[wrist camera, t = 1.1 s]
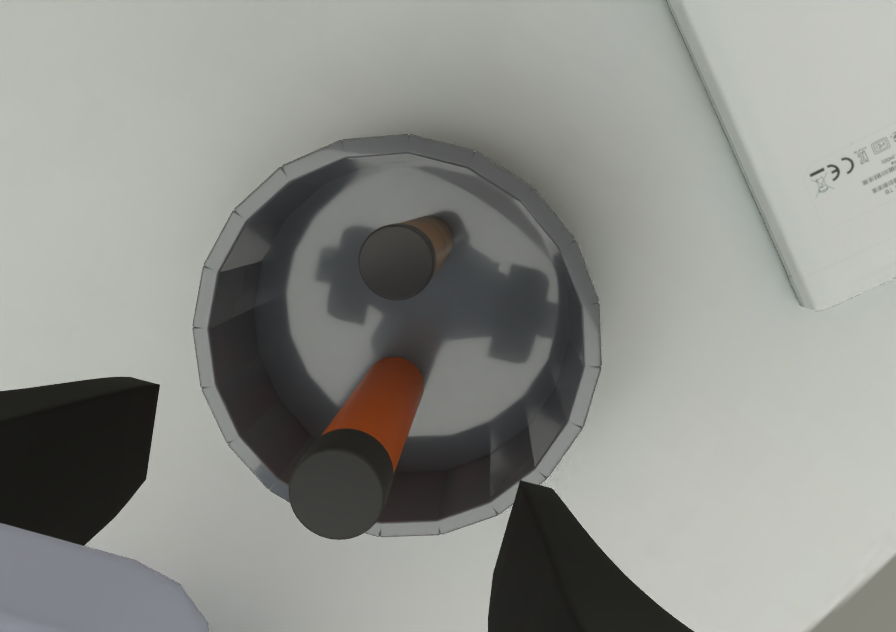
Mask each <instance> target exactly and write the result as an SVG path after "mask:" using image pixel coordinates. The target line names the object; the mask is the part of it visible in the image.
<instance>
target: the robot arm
mask: <svg viewBox="0 0 896 632" xmlns="http://www.w3.org/2000/svg"><path fill="white" fill-rule="evenodd" d="M159 387H160V385H158V384H154V383H151V382H147V381H143V380H139V379H135V378H132V377H109V378H99V379H90V380H83V381H75V382H68V383H61V384H54V385H47V386H40V387H33V388H25V389H17V390H8V391H0V632H209V627H208V622H207V621H206V619H205V618H204V617H203V615H202V614H201V612H200V611H199V610H198V608H197V607H196V606H195V604H194V603H193V601H192V600H191V599H190V597H189V596H188V595H187V593H186V592H185V590H184V589H183V588H182V586H181V585H180V584H179V583H177V582H175V581H174V580H172V579H170V578H168V577H166V576H164V575H162V574H161V573H159V572H157V571H155V570H153V569H151V568H149V567H148V566H146V565H144V564H142V563H140V562H138V561H136V560H133V559H130V558H126V557H122V556H119V555H115V554H111V553H108V552H104V551H101V550H97V549H93V548H90V547H86V546H84V545H85V544H86V543H87V542H88V541H90V540H91V539H92V538H93V537H94V536H95V535H96V534H97V533H98V532H99V531H100V530H102V529H103V528H104V527H105V526H106V525H107V524H108V523H109V522H110V521H111V520H112V519H113V518H114V517H115V516H116V515H117V514H118V513H119V512H120V510H121V509H122V508H123V507H124V506H125V505H126V504H127V502H128V501H129V500H130V499H131V497H132V496H133V495H134V494H135V492H136V491H137V490H138V489H139V487H140V486H141V485H142V484H143V482H144V481H145V480H146V475H147V469H148V462H149V455H150V448H151V441H152V434H153V428H154V421H155V414H156V407H157V400H158V393H159ZM488 632H694V631H692V630H691V629H689V628H688V627H687V626H685V625H684V624H683V623H681V622H680V621H678V620H677V619H676V618H674V617H673V616H672V615H670V614H669V613H668V612H667V611H665V610H664V609H663V608H662V607H660V606H659V605H658V604H657V603H656V602H655V601H653V600H652V599H651V598H650V597H649V596H648V595H647V594H645V593H644V592H643V591H642V590H641V589H640V588H639V587H637V586H636V585H635V584H634V583H633V582H632V581H631V580H630V579H629V578H628V577H627V576H626V575H625V574H624V573H623V572H622V571H621V570H620V569H619V568H618V567H617V566H616V565H615V564H614V563H613V562H612V561H611V559H610V558H609V557H608V556H607V555H606V554H605V553H604V552H603V551H602V550H601V548H600V547H599V546H598V545H597V544H596V543H595V542H594V540H593V539H592V538H591V537H590V536H589V534H588V533H587V532H586V531H585V529H584V528H583V527H582V526H581V524H580V523H579V522H578V521H577V519H576V518H575V517H574V515H573V514H572V513H571V512H570V510H569V509H568V508H567V506H566V505H565V504H564V502H563V501H562V500H561V499H560V497H559V496H558V495H557V494H556V493H555V491H554V490H553V489H552V488H548V487H544V486H541V485H537V484H533V483H529V482H526V481H522V480H520V482H519V486H518V489H517V493H516V496H515V500H514V503H513V507H512V510H511V514H510V517H509V521H508V524H507V527H506V531H505V534H504V538H503V541H502V545H501V548H500V552H499V555H498V559H497V562H496V566H495V569H494V573H493V580H492V588H491V597H490V606H489V615H488Z"/></svg>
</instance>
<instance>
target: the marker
mask: <svg viewBox="0 0 896 632" xmlns="http://www.w3.org/2000/svg"><path fill="white" fill-rule="evenodd" d="M423 392H424V381H423V377H422V375H421V373H420V371H419V370H418V368H417V367H416V366H415V365H414V364H413V363H411V362H410V361H408V360H406V359H404V358H400V357H387V358H384V359H381V360H379V361H378V362H376V363H375V364H374V365H373V366H372V367H371V368H370V369H369V371H368V372H367V373H366V375H365V376H364V378H363V379H362V380H361V382H360V383H359V384H358V386H357V387H356V389H355V390H354V391H353V393H352V394H351V395H350V397H349V398H348V400H347V401H346V402H345V404H344V405H343V406H342V408H341V409H340V410H339V412H338V413H337V415H336V416H335V417H334V419H333V420H332V421H331V423H330V424H329V426H328V427H327V428H326V430H325V431H324V432H323V434H322V435H321V436H320V437H319V438H318V439H317V440H316V441H315V442H314V443H313V444H312V445H311V446H310V448H309V449H308V451H307V452H306V453H305V455H304V456H303V457H302V459H301V460H300V461H299V463H298V464H297V465H296V467H295V469H294V470H293V472H292V475H291V477H290V481H289V500H290V504H291V507H292V509H293V512H294V513H295V515H296V517H297V518H298V519H299V521H300V522H301V523H302V524H303V525H304V526H305V527H306V528H308V529H309V530H310V531H312V532H313V533H315V534H317V535H319V536H322V537H325V538H329V539H337V540H341V539H349V538H353V537H356V536H359V535H361V534H363V533H365V532H366V531H368V530H369V529H370V528H371V527H373V525H374V524H375V523H376V522H377V521H378V519H379V518H380V516H381V514H382V512H383V509H384V506H385V503H386V500H387V498H388V495H389V492H390V489H391V486H392V483H393V475H394V472H395V469H396V467H397V464H398V461H399V458H400V456H401V453H402V450H403V447H404V445H405V442H406V439H407V436H408V434H409V431H410V428H411V426H412V423H413V420H414V417H415V415H416V412H417V409H418V406H419V404H420V401H421V398H422V395H423Z"/></svg>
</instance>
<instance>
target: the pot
mask: <svg viewBox="0 0 896 632" xmlns="http://www.w3.org/2000/svg"><path fill="white" fill-rule="evenodd" d="M423 216H435V217H438V218H440V219H442V220H443V221H445V222H446V223H447V224H448V225H449V227H450V229H451V230H452V233H453V237H454V245H453V249H452V251H451V253H450V255H449V256H448V258H447V259H446V260H445V261H444V263H443V264H442V265H441V267H440V268H439V269H438V270H437V272H436V273H435V274H434V275H433V277H432V279H431V280H430V282H429V283H428V285H427V286H426V287H425V288H424V289H423V290H422V291H421V292H420V293H419V294H417V295H416V296H414V297H412V298H409V299H406V300H399V301H395V300H388V299H385V298H382V297H380V296H378V295H376V294H375V293H373V292H372V291H371V290H370V289H369V288H368V287H367V286H366V284H365V283H364V281H363V279H362V278H361V275H360V272H359V267H358V256H359V252H360V248H361V246H362V244H363V242H364V241H365V239H366V238H367V237H368V236H369V235H370V234H371V233H372V232H373V231H375V230H376V229H378V228H380V227H383V226H386V225H389V224H394V223H400V222H404V221H408V220H412V219H416V218H419V217H423ZM598 302H599V300H598V297H597V294H596V292H595V289H594V286H593V284H592V281H591V278H590V276H589V273H588V270H587V268H586V265H585V262H584V260H583V257H582V254H581V252H580V249H579V246H578V244H577V242H576V241H575V238H574V237H573V236H572V234H571V233H570V232H569V231H568V229H567V228H566V227H565V226H564V224H563V223H562V222H561V221H560V220H559V218H558V217H557V216H556V215H555V213H554V212H553V211H552V210H551V208H550V207H549V206H548V205H547V204H546V202H545V201H544V200H543V199H542V197H541V196H540V195H539V194H538V192H537V191H536V190H535V189H534V188H532V186H531V185H529V184H527V183H526V182H524V181H523V180H521V179H520V178H518V177H516V176H515V175H513V174H512V173H510V172H509V171H507V170H505V169H504V168H502V167H501V166H499V165H498V164H496V163H494V162H493V161H491V160H490V159H488V158H487V157H485V156H483V155H482V154H480V153H479V152H477V151H474V150H472V149H468V148H464V147H460V146H456V145H452V144H448V143H444V142H440V141H436V140H432V139H428V138H424V137H420V136H416V135H412V134H411V135H408V134H400V135H388V136H376V137H364V138H352V139H343V140H339V141H337V142H334V143H332V144H330V145H328V146H325V147H323V148H321V149H318V150H316V151H314V152H312V153H309V154H307V155H305V156H302V157H300V158H298V159H296V160H293V161H291V162H289V163H286V164H284V165H283V166H282V167H279V168H278V169H277V170H276V171H275V172H274V173H273V174H272V175H271V176H269V177H268V178H267V179H266V180H265V181H264V182H263V183H262V184H261V185H260V186H259V187H257V188H256V189H255V190H254V191H253V192H252V193H251V194H250V195H249V196H248V197H247V198H246V199H244V200H243V201H242V202H241V203H240V204H239V205H238V206H237V207H236V208H235V209H234V211H232V213H231V215H230V217H229V219H228V221H227V222H226V224H225V226H224V228H223V230H222V232H221V233H220V235H219V237H218V239H217V241H216V243H215V245H214V246H213V248H212V250H211V252H210V254H209V256H208V257H207V259H206V261H205V263H204V266H203V269H202V275H201V281H200V286H199V292H198V298H197V303H196V309H195V315H194V320H193V335H194V343H195V350H196V357H197V364H198V371H199V378H200V386H201V388H202V392H203V394H204V396H205V398H206V400H207V402H208V404H209V407H210V409H211V411H212V413H213V415H214V417H215V419H216V421H217V424H218V426H219V428H220V430H221V432H222V434H223V436H224V438H225V440H226V442H227V443H228V446H229V447H230V448H231V449H232V450H233V451H234V452H235V453H236V454H237V456H238V457H239V458H240V459H241V460H242V461H243V462H244V463H245V464H246V465H247V467H248V468H249V469H250V470H251V471H252V472H253V473H254V474H255V475H256V477H257V478H258V479H259V480H260V481H261V482H262V483H263V484H264V485H265V486H266V488H267V489H269V490H270V491H271V492H273V493H275V494H276V495H278V496H280V497H281V498H283V499H285V500H286V501H288V502H290V500H289V481H290V477H291V475H292V472H293V470H294V469H295V467H296V465H297V464H298V463H299V461H300V460H301V459H302V457H303V456H304V455H305V453H306V452H307V451H308V449H309V448H310V446H311V445H312V444H313V443H314V442H315V441H316V440H317V439H318V438H319V437H320V436H321V435H322V434H323V432H324V431H325V430H326V428H327V427H328V426H329V424H330V423H331V421H332V420H333V419H334V417H335V416H336V415H337V413H338V412H339V410H340V409H341V408H342V406H343V405H344V404H345V402H346V401H347V400H348V398H349V397H350V395H351V394H352V393H353V391H354V390H355V389H356V387H357V386H358V384H359V383H360V382H361V380H362V379H363V378H364V376H365V375H366V373H367V372H368V371H369V369H370V368H371V367H372V366H373V365H374V364H375V363H376V362H378V361H379V360H381V359H384V358H387V357H400V358H404V359H406V360H408V361H410V362H411V363H413V364H414V365H415V366H416V367H417V368H418V370H419V371H420V373H421V375H422V377H423V381H424V392H423V395H422V398H421V401H420V404H419V406H418V409H417V412H416V415H415V417H414V420H413V423H412V426H411V428H410V431H409V434H408V436H407V439H406V442H405V445H404V447H403V450H402V453H401V456H400V458H399V461H398V464H397V467H396V469H395V472H394V475H393V483H392V486H391V489H390V492H389V495H388V498H387V500H386V503H385V506H384V509H383V512H382V514H381V516H380V518H379V519H378V521H377V522H376V523H375V524H374V525H373V527H371V528H370V529H369V530H368V531H366V532H365V533H366V534H370V535H374V536H378V537H379V536H381V537H397V536H427V535H440V534H445V533H448V532H451V531H454V530H457V529H460V528H463V527H465V526H468V525H471V524H474V523H477V522H480V521H483V520H486V519H489V518H491V517H494V516H497V515H498V514H501V513H502V512H503V511H505V510H506V509H507V508H509V507H510V506H511V505H513V503H514V500H515V496H516V493H517V489H518V486H519V482H520V480H522V481H526V482H529V483H533V484H537V485H540V484H541V483H542V482H544V481H545V480H546V479H547V478H548V477H549V476H550V474H551V473H552V472H553V470H554V469H555V467H556V466H557V465H558V463H559V462H560V460H561V459H562V457H563V456H564V455H565V453H566V452H567V450H568V449H569V448H570V446H571V445H572V443H573V442H574V440H575V439H576V438H577V436H578V435H579V433H580V432H581V430H582V428H583V426H584V424H585V421H586V418H587V414H588V411H589V408H590V404H591V401H592V398H593V394H594V391H595V388H596V384H597V381H598V378H599V374H600V371H601V365H602V362H601V333H600V305H599V303H598Z"/></svg>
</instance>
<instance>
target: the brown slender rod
mask: <svg viewBox="0 0 896 632" xmlns="http://www.w3.org/2000/svg"><path fill="white" fill-rule="evenodd" d="M453 245H454V237H453V233H452V230H451V229H450V227H449V225H448V224H447V223H446V222H445V221H443V220H442V219H440V218H438V217H435V216H423V217H419V218H416V219H412V220H408V221H404V222H400V223H394V224H389V225H386V226H383V227H380V228H378V229H376V230H375V231H373V232H372V233H371V234H370V235H369V236H368V237H367V238H366V239H365V241H364V242H363V244H362V246H361V248H360V252H359V256H358V267H359V272H360V275H361V278H362V279H363V281H364V283H365V284H366V286H367V287H368V288H369V289H370V290H371V291H372V292H373V293H375V294H376V295H378V296H380V297H382V298H385V299H388V300H395V301H399V300H406V299H409V298H412V297H414V296H416V295H417V294H419V293H420V292H421V291H422V290H423V289H424V288H425V287H426V286H427V285H428V283H429V282H430V280H431V279H432V277H433V275H434V274H435V273H436V272H437V270H438V269H439V268H440V267H441V265H442V264H443V263H444V261H445V260H446V259H447V258H448V256H449V255H450V253H451V251H452V249H453Z"/></svg>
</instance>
